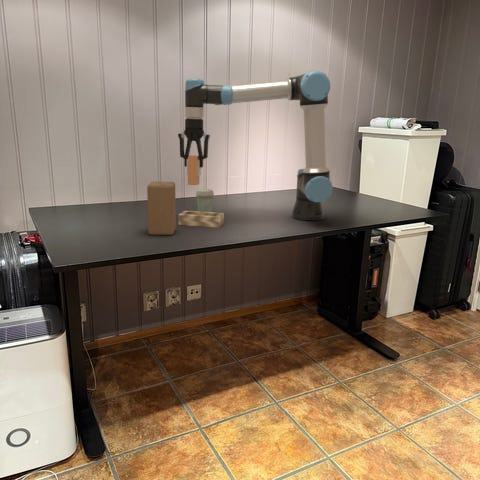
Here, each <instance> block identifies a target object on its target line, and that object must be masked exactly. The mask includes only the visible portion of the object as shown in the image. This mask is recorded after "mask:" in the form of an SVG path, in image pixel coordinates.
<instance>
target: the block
mask: <svg viewBox="0 0 480 480" xmlns="http://www.w3.org/2000/svg"><path fill="white" fill-rule="evenodd" d="M146 188H147V189H146V190H147V195H146V197H147V199H146V200H147V224H148V225H147V226H148V228H147V229H148V230H147V231H148V235H153V236H159V235H160V236H173V235H174V233H175V231H176V228H177V222H176V221H177V217H176V216H177V213H176V210H177V209H176V205H177V204H176V202H177V201H176V183H175V182H174V181H153V180H152V181H151V182H149V183H148V184H147V187H146Z"/></svg>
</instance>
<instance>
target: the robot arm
mask: <svg viewBox="0 0 480 480" xmlns="http://www.w3.org/2000/svg"><path fill="white" fill-rule="evenodd" d="M184 87H185V88H184V100H185V101H184V103H185V104H184V117H185V119H184V131H183V132H181V133H178V134H177V136H178V139H179V156H180V158H182V159H184V164H183V165H184V168H185V167H186V175H187V176H188V156H190V152H191V148H192V143H193V142H195V144H196V148H197V153H198V155H197V156H199V160H198V167H197V176H199V177H200V176H201V173H202V172H201V171H202V168H203V167H204V160H205V159H207V158H208V156H209V155H208V153H209V140H210V137H211V135H210V134H207V133H205V131H204V119H203V118H204V106H205V105H214V106H222V105H223V106H226V105H229V106H230V105H232V104H239V103H242V104H243V103H250V102H251V103H252V102H260V101H261V102H262V101H272V100H283V99H285V100H286V99H287V100H288V101H299V107H300V108H301V109H302V110H303V125H304V127H303V128H304V130H303V131H304V151H305V152H304V154H305V155H304V156H305V168H300V169H298V171H297V175H296V177H297V179H296V182H297V183H296V196H295V197H296V198H295V202H294V206H293V208H292V211H291V218H292V219H295V220H298V219H299V220H300V221H306V220H312V221H313V220H316V221H321V220H323V219H324V218H325V217H324V216H325V215H324V209H323V206H322V203H323V202H326V201H327V200H328V199H329V198H330V197H331V195H332V193H333V189H334V187H333V184H332V181H331V175H330V173H331V171H330V170H331V169H329V167H327V162H326V161H327V159H326V156H327V155H326V126H325V125H326V123H325V122H326V120H325V117H326V115H325V109H326V108H327V106H328V105H329V93H330V91H331V81H330V79H329V77H328V76H327V74H326V73H325V72H323V71H320V70H310V71H308V72H306V73H304V74H301V75H297V76H291V77H287V79H286V80H277V81H265V82H264V81H263V82H255V83H254V82H253V83H244V84H243V83H242V84H235V85H227V84H226V85H225V84H223V85H222V84H221V85H220V84H219V85H218V84H211V85H210V84H205V81H204V79H200V78H188V79H186V81H185V86H184ZM204 104H205V105H204ZM185 137H186V146H185ZM202 138H203V139H204V141H203V148H202ZM312 221H311V222H312ZM313 222H314V221H313Z"/></svg>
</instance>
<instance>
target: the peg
mask: <svg viewBox="0 0 480 480" xmlns="http://www.w3.org/2000/svg"><path fill="white" fill-rule="evenodd" d="M198 160H199V155H189V156H188V175H187V185H188V186H189V185H190V186H198V185H200V175H199V176H197V167H198Z"/></svg>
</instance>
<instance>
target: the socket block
mask: <svg viewBox="0 0 480 480" xmlns="http://www.w3.org/2000/svg"><path fill="white" fill-rule="evenodd" d="M224 219H225V213H224V212H212V211H211V212H199V211H198V210H197V211H195V210H183V211H182V212H181V213H179V214H178V225H179V226H187V227H188V226H189V227H204V228H216V229H218V228H219V229H220V228H221V226H222V225H223V224H224V223H225V221H224Z"/></svg>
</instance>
